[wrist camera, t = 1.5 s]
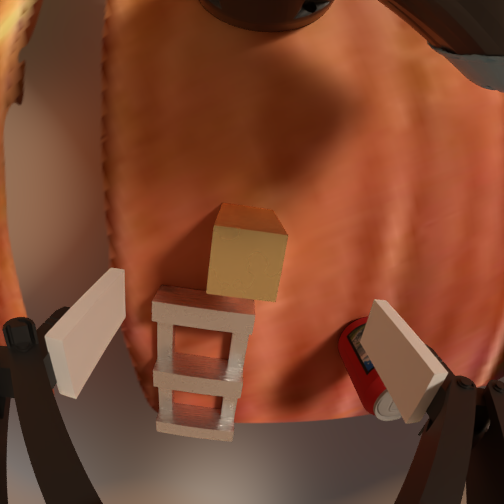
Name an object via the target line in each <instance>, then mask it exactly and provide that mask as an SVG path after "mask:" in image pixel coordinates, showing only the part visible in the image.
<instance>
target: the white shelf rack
mask: <svg viewBox="0 0 504 504" xmlns="http://www.w3.org/2000/svg"><path fill="white" fill-rule="evenodd" d="M254 320H255V306H254V300H253V299H245V298H237V297H229V296H221V295H213V294H206V291H203V290H195V289H188V288H181V287H174V286H167V285H161V286H160V288H159V290H158V291H157V293H156V295H155V297H154V298H153V300H152V321H155V322H157V351H158V358H157V360H156V363H155V366H154V369H153V384H154V386H155V387H158V389H159V412H158V415H157V419H156V427H157V431H158V432H163V433H169V434H175V435H181V436H189V437H195V438H203V439H212V440H221V441H232V438H233V433H234V415H235V410H236V404H237V398H240V397H241V391H242V386H243V365H244V359H245V354H246V348H247V342H248V337H249V334H250V335H252V331H253V326H254ZM175 325H180V326H187V327H194V328H201V329H208V330H216V331H224V332H232V336H231V343H230V350H229V357H228V360H227V359H218V358H210V357H203V356H195V355H188V354H182V353H175V352H174V346H175ZM174 390H178V391H184V392H191V393H198V394H206V395H214V396H223V400H222V407H221V409H215V408H207V407H199V406H192V405H185V404H178V403H174Z"/></svg>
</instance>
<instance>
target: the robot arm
mask: <svg viewBox="0 0 504 504" xmlns="http://www.w3.org/2000/svg"><path fill="white" fill-rule="evenodd" d="M199 1H200V3H201V4H202V5H203V6H204V8H205V9H206V10H207V11H209V12H210V13H211V14H212V15H214V16H215V17H217V18H218V19H220V20H222V21H224V22H226V23H228V24H230V25H233V26H236V27H239V28H243V29H247V30H252V31H260V32H280V31H288V30H293V29H297V28H300V27H303V26H306V25H308V24H310V23H312V22H314V21H315V20H317V19H318V18H320V17H321V16H322V15H323V14H324V13H325V12H326V11H327V10H328V9H329V7H330V6H331V4H332V3H333V1H334V0H199ZM378 1H379V2H381V3H382V4H383V5H385V6H386V7H387V8H389V9H390V10H391V11H393V12H394V13H395V14H397V15H398V16H399V17H400V18H402V19H403V20H404V21H405V22H406V23H408V24H409V25H410V26H411V27H412V28H414V29H415V30H416V31H417V32H418V33H419V34H420V35H422V36H423V37H424V38H425V39H426V40H427V43H428V45H429V46H430V47H431V48H432V49H433V50H435V51H436V52H438V53H439V54H441V55H443V56H444V57H445V58H446V59H448V60H449V61H450V62H451V63H452V64H453V65H454V66H455V67H456V68H457V69H458V70H459V71H460V72H461V73H462V74H463V75H464V76H465V77H466V78H468V79H469V80H470V81H472V82H473V83H475V84H476V85H478V86H480V87H483V88H486V89H490V90H498V91H500V92H503V93H504V0H378ZM125 317H126V313H125V270H123V269H117V268H110V269H109V270H108V271H107V272H106V273H105V274H104V275H103V276H102V277H101V278H100V279H99V280H98V281H97V282H96V283H95V284H94V285H93V286H92V287H91V288H90V289H89V290H88V291H87V292H86V293H85V294H84V295H83V296H82V297H81V298H80V299H79V300H78V301H77V302H76V303H75V304H74V305H73V306H72V307H71V308H70V307H63V308H60V309H58V310H56V311H55V312H54V313H53V314H52V315H51V316H50V318H48V319H47V320H46V321H45V323H43V324H42V325H41V326H40V327H39V328H38V329H37V330H36V327H35V324H34V322H33V321H32V320H31V319H29V318H25V317H17V318H13V319H11V320H9V321H7V322H6V323H5V324H4V325H3V333H4V337H5V341H6V344H7V346H0V504H8V497H7V476H6V475H7V474H6V473H7V471H6V457H7V432H8V417H9V408H10V399H11V398H15V402H16V406H17V412H18V416H19V421H20V425H21V429H22V433H23V437H24V441H25V444H26V447H27V451H28V454H29V458H30V461H31V464H32V467H33V470H34V473H35V476H36V479H37V482H38V484H39V487H40V489H41V492H42V495H43V497H44V500H45V502H46V504H103V503H102V502H101V500H100V498H99V497H98V495H97V493H96V491H95V489H94V487H93V486H92V484H91V482H90V480H89V478H88V476H87V474H86V472H85V470H84V468H83V466H82V464H81V462H80V459H79V457H78V455H77V453H76V451H75V448H74V446H73V444H72V442H71V439H70V437H69V434H68V432H67V430H66V427H65V425H64V422H63V420H62V417H61V414H60V411H59V409H58V406H57V403H56V400H55V397H54V394H53V391H52V389H53V388H54V386H55V384H56V383H57V387H58V389H59V393H60V394H62V395H65V396H68V397H71V398H74V399H77V397H78V395H79V393H80V392H81V390H82V388H83V386H84V385H85V383H86V381H87V379H88V378H89V376H90V374H91V372H92V371H93V369H94V367H95V366H96V364H97V362H98V361H99V359H100V357H101V356H102V354H103V352H104V351H105V349H106V347H107V346H108V344H109V343H110V341H111V339H112V338H113V336H114V335H115V333H116V331H117V330H118V328H119V327H120V325H121V323H122V322H123V320H124V319H125ZM360 343H361V345H362V346H363V348H364V350H365V352H366V353H367V355H368V357H369V358H370V360H371V362H372V364H373V365H374V367H375V369H376V371H377V372H378V374H379V376H380V378H381V379H382V381H383V383H384V385H385V387H386V388H387V390H388V392H389V394H390V396H391V397H392V399H393V401H394V403H395V405H396V406H397V408H398V410H399V412H400V414H401V416H402V417H403V419H404V421H405V423H406V424H409V423H415V422H419V421H420V420H421V419H422V417H423V416H424V414H425V412H427V414H428V415H429V419H428V421H427V422H426V424H425V425H424V427H423V428H422V430H421V431H420V432H419V434H418V435H421V434H422V436H421V439H420V442H419V445H418V448H417V451H416V453H415V456H414V459H413V461H412V464H411V466H410V469H409V471H408V474H407V476H406V479H405V481H404V483H403V486H402V488H401V490H400V492H399V494H398V497H397V499H396V501H395V503H394V504H460V503H461V499H462V495H463V491H464V487H465V482H466V495H467V504H504V383H503V382H501V381H497V380H491V381H489V383H488V384H487V386H486V388H485V389H482V388H476V385H475V384H474V382H473V381H471V380H470V379H469V378H467V377H464V376H455V375H454V374H453V373H452V371H451V370H450V369H449V368H448V367H447V365H446V364H445V363H444V362H442V359H441V358H440V357H438V355H437V354H436V352H435V351H434V350H433V349H432V348H430V347H429V346H427V345H426V344H424V343H423V342H422V341H421V339H420V338H419V337H418V336H417V335H416V334H415V332H414V331H413V330H412V329H411V328H410V327H409V326H408V324H407V323H406V322H405V321H404V320H403V319H402V318H401V317H400V315H399V314H398V313H397V312H396V311H395V310H394V309H393V308H392V306H391V305H390V304H389V303H388V302H387V301H386V300H376V299H374V301H373V305H372V308H371V311H370V314H369V317H368V320H367V323H366V326H365V329H364V332H363V335H362V338H361V340H360ZM489 424H490V426H489V429H487V427H488V425H489Z"/></svg>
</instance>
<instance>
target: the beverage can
mask: <svg viewBox="0 0 504 504" xmlns="http://www.w3.org/2000/svg"><path fill="white" fill-rule="evenodd" d="M367 320H368V317H364V318H360V319H358V320H356V321H354V322H353V323H351V324H350V325H349V326H348V327H347V328H346V329H345V330H344V331H343V333H342V334H341V336H340V338H339V342H338V350H339V353H340V356H341V358H342V360H343V362H344V365H345V367H346V369H347V371H348V374H349V376H350V378H351V380H352V383H353V385H354V387H355V389H356V391H357V394H358V396H359V398H360V400H361V402H362V404H363V407H364V408H365V410H366V411H368V412H369V413H371V414H373V415H375V416H376V417H377V418H378V419H380V420H383V421H391V420H396V419H398V418H401V417H402V416H401V414H400V412H399V410H398V408H397V406H396V405H395V403H394V401H393V399H392V397H391V396H390V394H389V392H388V390H387V388H386V387H385V385H384V383H383V381H382V379H381V378H380V376H379V374H378V372H377V371H376V369H375V367H374V365H373V364H372V362H371V360H370V358H369V357H368V355H367V353H366V352H365V350H364V348H363V346H362V345H361V343H360V340H361V338H362V335H363V332H364V329H365V326H366V323H367Z"/></svg>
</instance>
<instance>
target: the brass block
mask: <svg viewBox="0 0 504 504" xmlns="http://www.w3.org/2000/svg"><path fill="white" fill-rule="evenodd" d="M287 239H288V234H287V232H286V231H285V229H284V227H283V226H282V224H281V222H280V220H279V219H278V217H277V215H276V214H275V212H274V210H271V209H264V208H257V207H250V206H243V205H236V204H228V203H222V205H221V208H220V210H219V213H218V216H217V218H216V221H215V224H214V228H213V237H212V245H211V254H210V263H209V272H208V282H207V291H206V294H213V295H221V296H229V297H237V298H245V299H253V300H262V301H271V302H276V297H277V292H278V286H279V281H280V276H281V271H282V266H283V261H284V255H285V250H286V245H287Z"/></svg>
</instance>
